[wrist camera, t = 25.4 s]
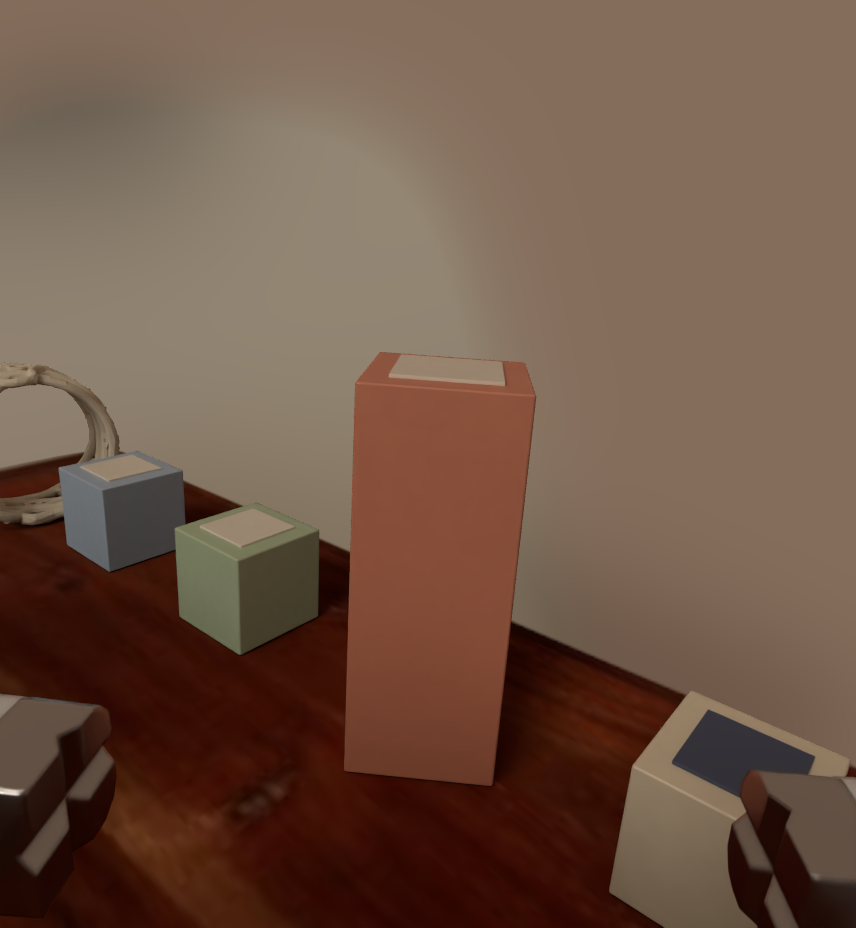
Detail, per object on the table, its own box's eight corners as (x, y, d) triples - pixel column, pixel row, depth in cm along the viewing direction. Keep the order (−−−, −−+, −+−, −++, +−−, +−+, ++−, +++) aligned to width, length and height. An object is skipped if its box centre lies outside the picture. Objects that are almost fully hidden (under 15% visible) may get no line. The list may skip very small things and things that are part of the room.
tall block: (490, 694, 26) (526, 359, 22) (492, 787, 21) (537, 391, 17) (366, 682, 26) (379, 348, 22) (343, 772, 21) (354, 377, 18)
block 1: (187, 546, 35) (183, 468, 34) (109, 572, 32) (101, 488, 31) (143, 522, 38) (137, 448, 36) (66, 545, 35) (58, 465, 33)
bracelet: (-61, 522, 36) (-88, 366, 34) (100, 490, 41) (88, 354, 39) (-42, 550, 33) (-69, 383, 31) (128, 512, 39) (117, 367, 36)
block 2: (318, 616, 30) (320, 526, 28) (239, 656, 27) (237, 557, 25) (257, 583, 32) (256, 499, 31) (178, 617, 29) (173, 524, 28)
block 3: (813, 882, 19) (853, 755, 17) (774, 1000, 16) (817, 857, 14) (666, 803, 21) (691, 685, 20) (607, 892, 18) (632, 761, 17)
